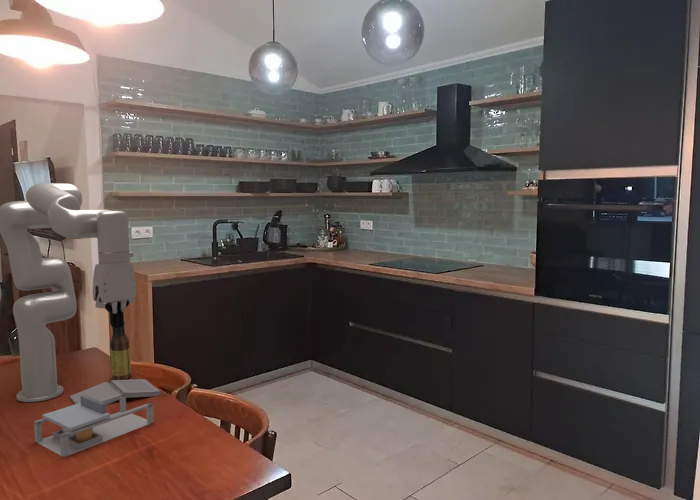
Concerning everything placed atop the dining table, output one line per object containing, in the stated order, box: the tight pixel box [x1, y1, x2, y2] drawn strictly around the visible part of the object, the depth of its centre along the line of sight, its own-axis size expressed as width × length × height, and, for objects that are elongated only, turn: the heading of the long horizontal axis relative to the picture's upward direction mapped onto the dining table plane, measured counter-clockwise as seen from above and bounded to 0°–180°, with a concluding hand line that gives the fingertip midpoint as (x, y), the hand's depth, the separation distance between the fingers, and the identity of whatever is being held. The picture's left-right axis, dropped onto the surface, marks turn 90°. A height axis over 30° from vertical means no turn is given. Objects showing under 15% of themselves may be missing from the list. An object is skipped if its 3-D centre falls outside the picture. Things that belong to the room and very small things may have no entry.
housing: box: [33, 393, 155, 458], centre depth 140 cm, size 14×24×6 cm, turn 145°
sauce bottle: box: [109, 320, 132, 380], centre depth 183 cm, size 6×6×20 cm
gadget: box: [69, 378, 162, 406], centre depth 167 cm, size 23×15×4 cm, turn 129°
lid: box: [42, 395, 111, 431], centre depth 135 cm, size 13×10×3 cm
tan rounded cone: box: [76, 428, 93, 443], centre depth 134 cm, size 4×4×5 cm
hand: (117, 326), depth 143 cm, fingers closed
